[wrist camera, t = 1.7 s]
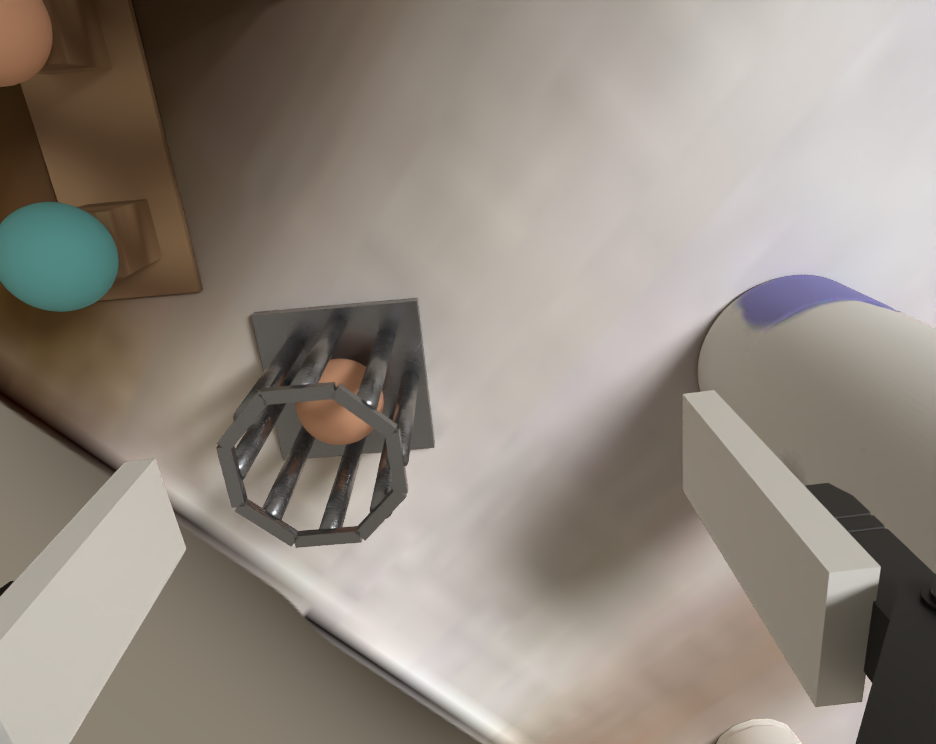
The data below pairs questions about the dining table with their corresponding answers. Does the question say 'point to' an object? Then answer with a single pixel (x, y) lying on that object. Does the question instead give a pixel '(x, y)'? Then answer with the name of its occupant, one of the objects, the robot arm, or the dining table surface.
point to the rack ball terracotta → (23, 40)
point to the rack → (112, 144)
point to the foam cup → (759, 733)
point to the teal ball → (56, 256)
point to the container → (836, 394)
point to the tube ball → (336, 407)
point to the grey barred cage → (296, 380)
